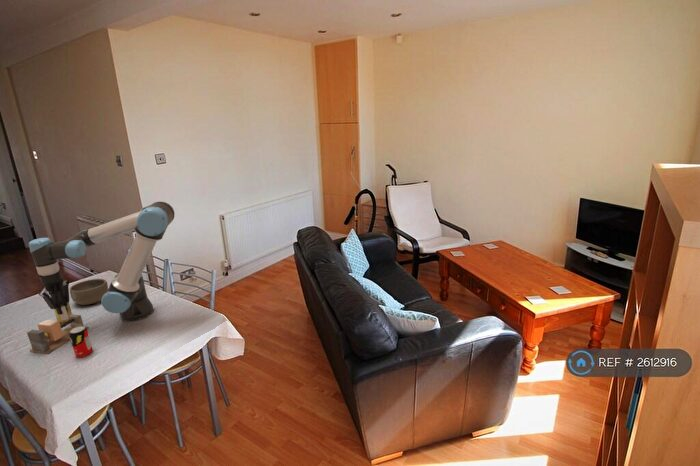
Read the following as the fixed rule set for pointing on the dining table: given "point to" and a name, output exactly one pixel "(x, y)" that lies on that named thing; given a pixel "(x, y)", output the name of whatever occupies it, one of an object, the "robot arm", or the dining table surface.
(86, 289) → the bowl
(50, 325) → the sleeve
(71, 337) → the beverage can
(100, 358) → the dining table surface
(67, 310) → the sauce bottle
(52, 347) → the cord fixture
